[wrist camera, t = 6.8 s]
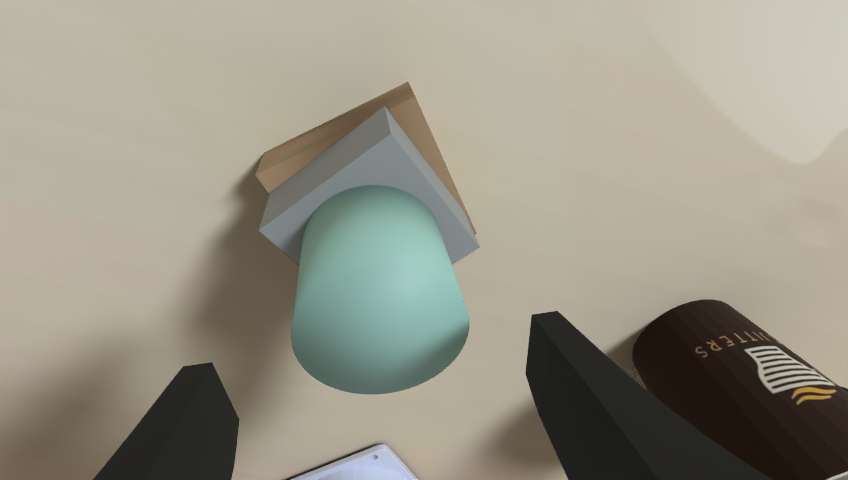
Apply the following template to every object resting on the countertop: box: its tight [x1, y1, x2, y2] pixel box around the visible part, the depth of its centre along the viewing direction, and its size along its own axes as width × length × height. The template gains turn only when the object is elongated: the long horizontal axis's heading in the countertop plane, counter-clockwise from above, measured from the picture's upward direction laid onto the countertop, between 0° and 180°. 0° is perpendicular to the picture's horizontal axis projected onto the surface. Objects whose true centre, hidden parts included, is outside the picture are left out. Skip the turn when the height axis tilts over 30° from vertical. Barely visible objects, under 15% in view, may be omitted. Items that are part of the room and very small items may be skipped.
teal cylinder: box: [291, 185, 469, 394], centre depth 13 cm, size 4×4×4 cm
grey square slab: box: [259, 106, 480, 265], centre depth 15 cm, size 5×5×2 cm
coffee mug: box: [633, 300, 848, 480], centre depth 23 cm, size 12×9×10 cm
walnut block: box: [255, 82, 476, 235], centre depth 17 cm, size 6×6×2 cm
